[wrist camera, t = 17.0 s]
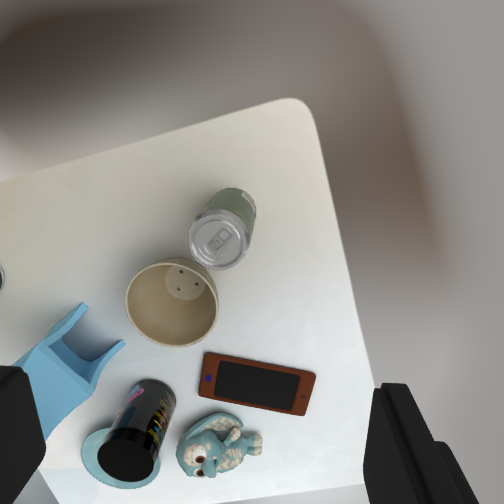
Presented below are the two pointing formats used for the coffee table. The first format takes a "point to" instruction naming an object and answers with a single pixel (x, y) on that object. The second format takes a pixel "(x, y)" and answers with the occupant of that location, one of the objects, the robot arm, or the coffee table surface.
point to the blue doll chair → (61, 373)
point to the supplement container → (137, 432)
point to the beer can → (223, 230)
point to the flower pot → (172, 302)
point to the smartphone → (256, 384)
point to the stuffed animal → (215, 446)
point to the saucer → (93, 467)
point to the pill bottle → (1, 278)
